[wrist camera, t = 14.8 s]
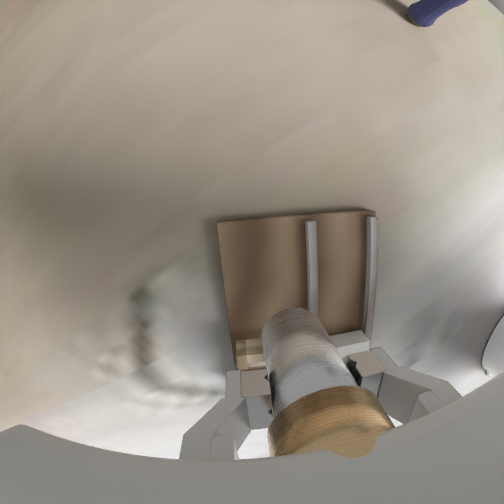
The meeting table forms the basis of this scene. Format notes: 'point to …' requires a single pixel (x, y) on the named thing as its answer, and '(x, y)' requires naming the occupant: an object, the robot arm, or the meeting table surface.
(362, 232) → the board
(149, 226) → the meeting table surface
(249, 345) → the socket
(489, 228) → the meeting table surface
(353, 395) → the grey and tan cylinder
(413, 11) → the rubber mallet
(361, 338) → the block
